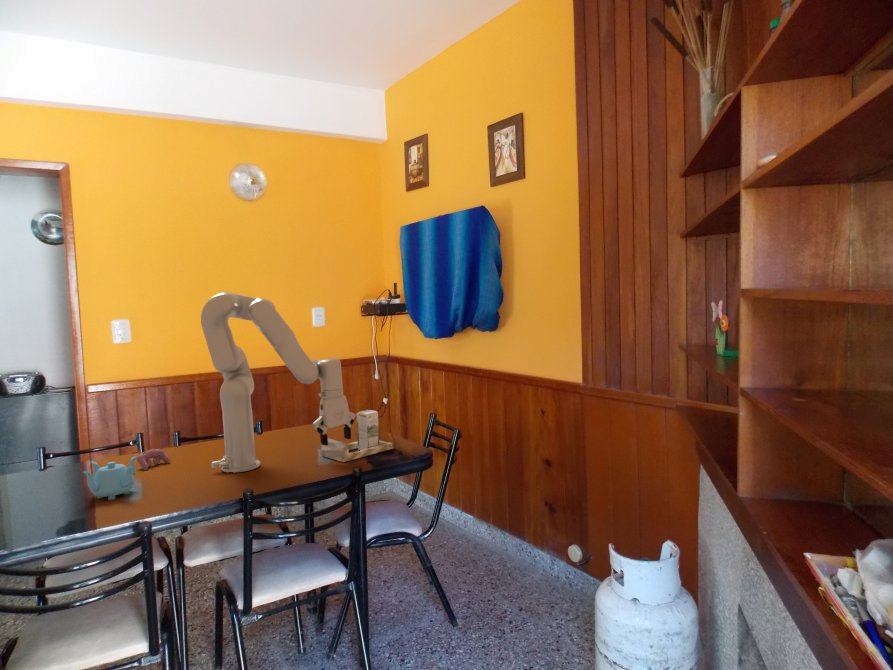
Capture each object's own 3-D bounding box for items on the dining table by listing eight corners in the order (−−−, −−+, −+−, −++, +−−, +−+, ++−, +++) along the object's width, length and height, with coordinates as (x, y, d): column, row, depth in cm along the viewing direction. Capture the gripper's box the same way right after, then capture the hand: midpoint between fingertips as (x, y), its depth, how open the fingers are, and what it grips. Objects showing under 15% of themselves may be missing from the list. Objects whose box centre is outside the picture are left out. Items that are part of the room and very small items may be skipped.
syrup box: (369, 447, 216) (367, 409, 216) (379, 449, 213) (378, 410, 212) (357, 450, 212) (355, 412, 211) (368, 453, 208) (366, 413, 207)
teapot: (94, 492, 176) (91, 460, 175) (142, 485, 181) (139, 454, 180) (84, 505, 164) (81, 471, 163) (136, 498, 169) (133, 464, 168)
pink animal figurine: (165, 466, 207) (158, 448, 209) (172, 461, 205) (165, 444, 206) (139, 474, 199) (132, 455, 200) (146, 469, 197) (139, 450, 198)
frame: (343, 462, 196) (342, 445, 196) (321, 455, 206) (321, 439, 205) (392, 448, 212) (391, 432, 212) (370, 443, 221) (369, 427, 221)
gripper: (317, 399, 192) (321, 449, 193) (358, 390, 204) (362, 437, 205) (305, 397, 197) (309, 446, 198) (346, 389, 209) (350, 435, 210)
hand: (336, 441), depth 202 cm, fingers open, 9 cm apart
